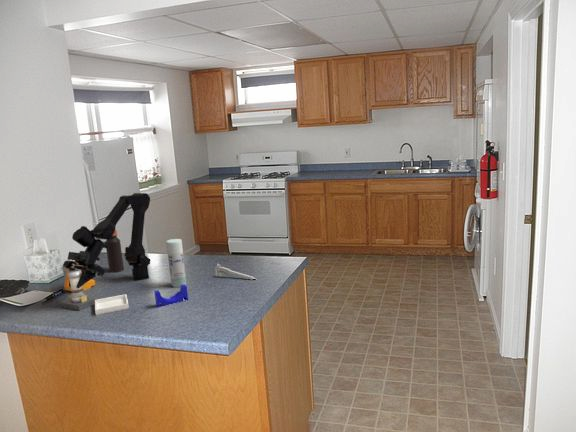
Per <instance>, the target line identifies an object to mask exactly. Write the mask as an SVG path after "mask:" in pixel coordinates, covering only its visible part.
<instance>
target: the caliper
mask: <svg viewBox="0 0 576 432" xmlns="http://www.w3.org/2000/svg"><path fill="white" fill-rule="evenodd" d="M214 268H215V269H214V274H215V277H216V276H217V277H219V278H221V277H222V276H223V274H224V275H227V276H229V275H231V276H234V277H237V278H238V277H239V278H242V279H245V280H248V279H256V278H255V277H254V276H250V275H248V274H245V273H242V272H238V271H236V270H231V269H230V268H227V267H224V266H221V264H219V263H217V264H216V266H215V267H214Z"/></svg>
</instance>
